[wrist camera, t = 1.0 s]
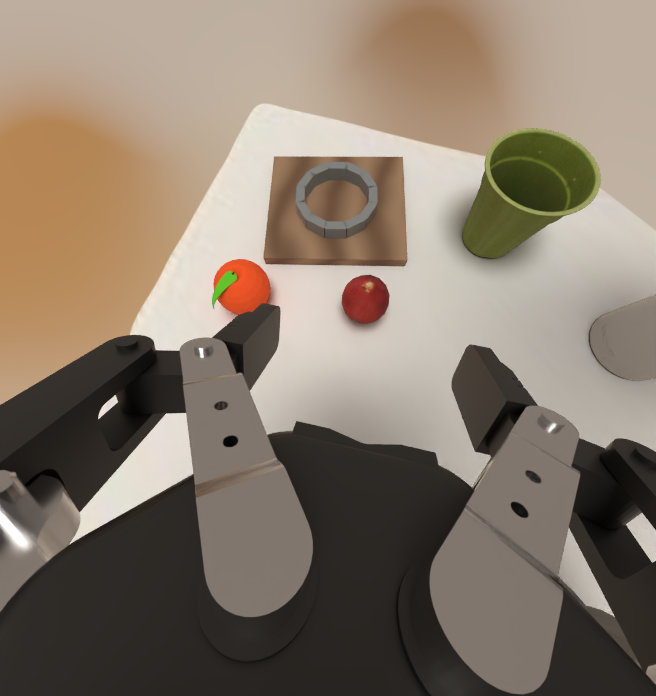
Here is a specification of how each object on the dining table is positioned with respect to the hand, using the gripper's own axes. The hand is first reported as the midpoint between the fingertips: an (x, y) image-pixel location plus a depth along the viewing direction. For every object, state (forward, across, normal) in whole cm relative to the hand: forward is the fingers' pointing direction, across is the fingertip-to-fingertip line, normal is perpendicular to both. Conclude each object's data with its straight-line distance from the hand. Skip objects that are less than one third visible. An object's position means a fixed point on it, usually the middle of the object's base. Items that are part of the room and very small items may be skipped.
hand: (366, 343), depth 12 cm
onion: (+25, 0, +9) cm, 26 cm away
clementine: (+24, +16, +10) cm, 30 cm away
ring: (+34, +7, -3) cm, 35 cm away
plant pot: (+36, -16, -2) cm, 39 cm away
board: (+36, +7, -2) cm, 36 cm away
